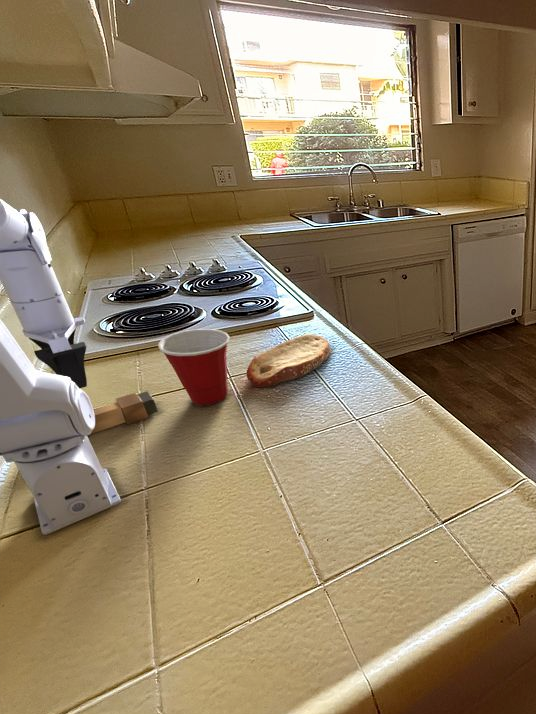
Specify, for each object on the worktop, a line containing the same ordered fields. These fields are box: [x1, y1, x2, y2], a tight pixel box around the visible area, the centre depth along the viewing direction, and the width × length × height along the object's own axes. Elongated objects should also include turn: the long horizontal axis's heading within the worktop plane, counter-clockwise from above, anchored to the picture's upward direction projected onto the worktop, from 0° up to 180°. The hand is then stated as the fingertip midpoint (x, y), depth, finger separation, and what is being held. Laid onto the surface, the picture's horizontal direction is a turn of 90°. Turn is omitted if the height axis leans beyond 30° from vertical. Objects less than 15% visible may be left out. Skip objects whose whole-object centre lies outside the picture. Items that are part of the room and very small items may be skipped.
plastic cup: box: [157, 328, 231, 407], centre depth 83 cm, size 11×11×12 cm
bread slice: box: [246, 333, 331, 388], centre depth 98 cm, size 18×18×4 cm
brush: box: [88, 391, 159, 436], centre depth 77 cm, size 13×4×3 cm, turn 136°
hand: (73, 379), depth 72 cm, fingers open, 7 cm apart
